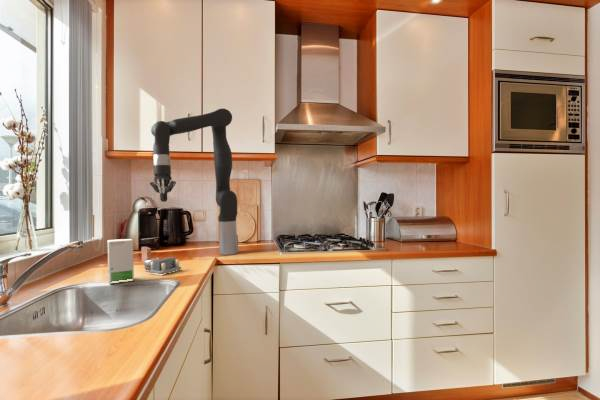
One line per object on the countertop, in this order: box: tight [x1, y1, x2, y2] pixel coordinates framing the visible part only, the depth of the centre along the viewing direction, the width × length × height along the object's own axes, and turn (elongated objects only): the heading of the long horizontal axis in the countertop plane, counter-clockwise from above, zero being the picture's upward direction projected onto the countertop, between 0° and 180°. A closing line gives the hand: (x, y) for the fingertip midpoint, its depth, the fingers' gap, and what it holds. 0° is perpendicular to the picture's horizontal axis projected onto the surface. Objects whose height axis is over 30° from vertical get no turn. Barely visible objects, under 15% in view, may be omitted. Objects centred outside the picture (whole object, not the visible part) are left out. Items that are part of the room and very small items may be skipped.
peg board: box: [148, 259, 182, 274], centre depth 141 cm, size 10×8×4 cm
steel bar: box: [153, 256, 177, 271], centre depth 141 cm, size 8×4×4 cm, turn 151°
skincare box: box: [106, 238, 135, 283], centre depth 128 cm, size 8×7×16 cm
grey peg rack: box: [141, 246, 160, 267], centre depth 150 cm, size 14×6×7 cm, turn 41°
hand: (163, 201), depth 162 cm, fingers closed
